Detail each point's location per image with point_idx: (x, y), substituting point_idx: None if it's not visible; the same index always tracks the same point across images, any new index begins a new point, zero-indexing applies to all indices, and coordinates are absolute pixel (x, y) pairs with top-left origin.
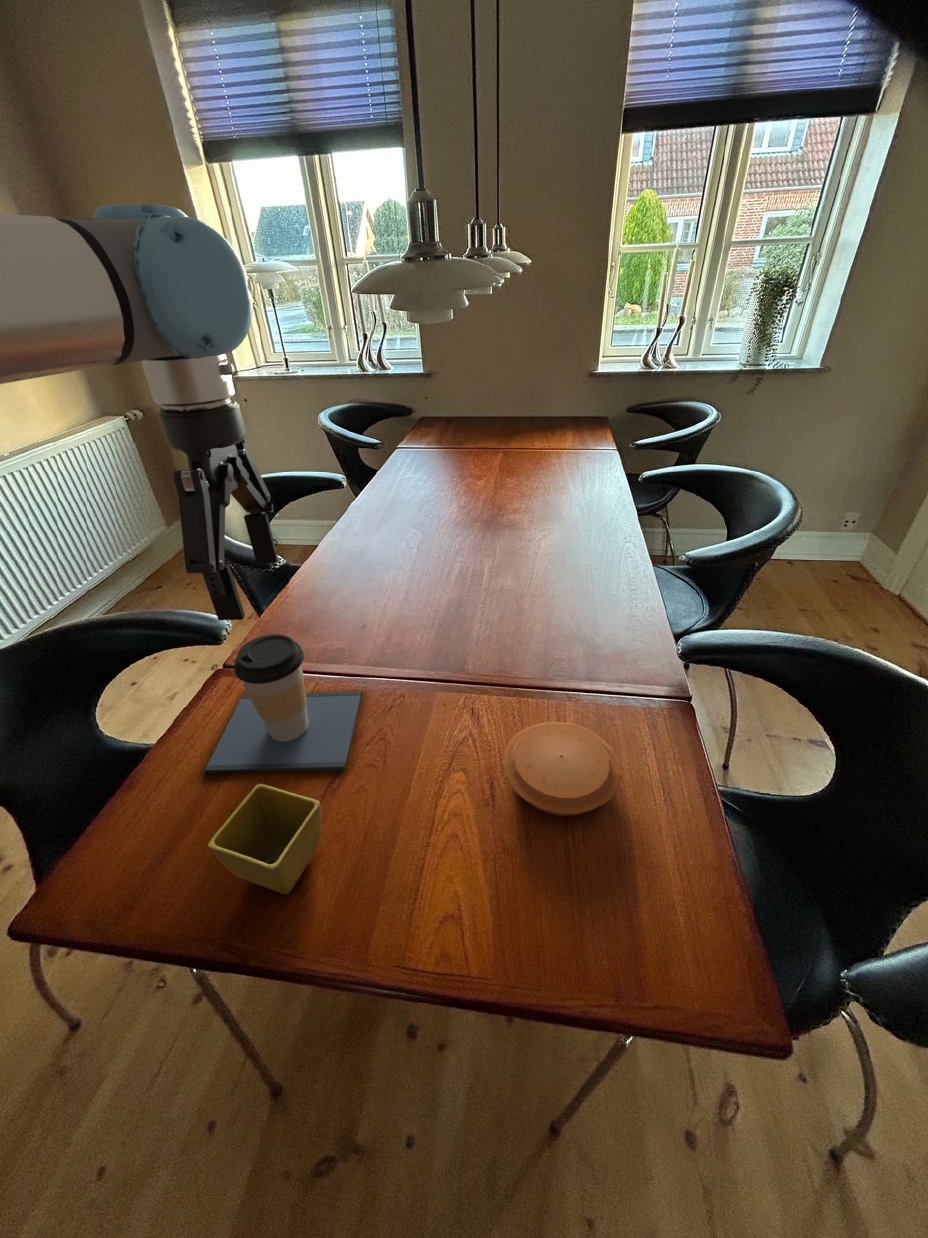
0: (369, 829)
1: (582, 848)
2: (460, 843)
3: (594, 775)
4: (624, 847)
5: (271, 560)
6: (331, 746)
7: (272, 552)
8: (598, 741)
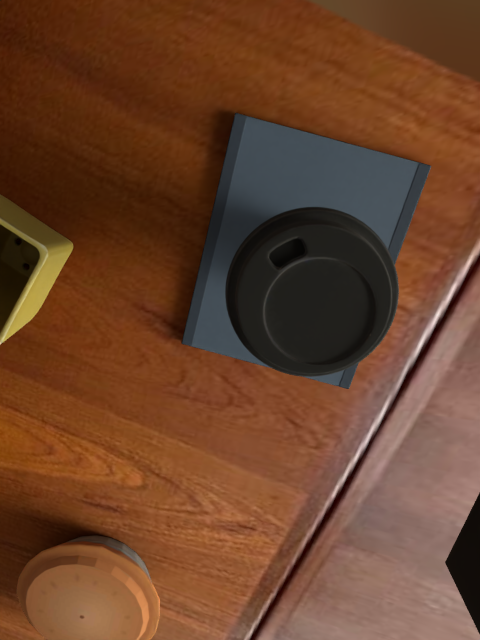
0: (76, 361)
1: (15, 560)
2: (39, 454)
3: (51, 632)
4: (11, 592)
5: (460, 553)
6: (229, 328)
7: (477, 608)
8: None
